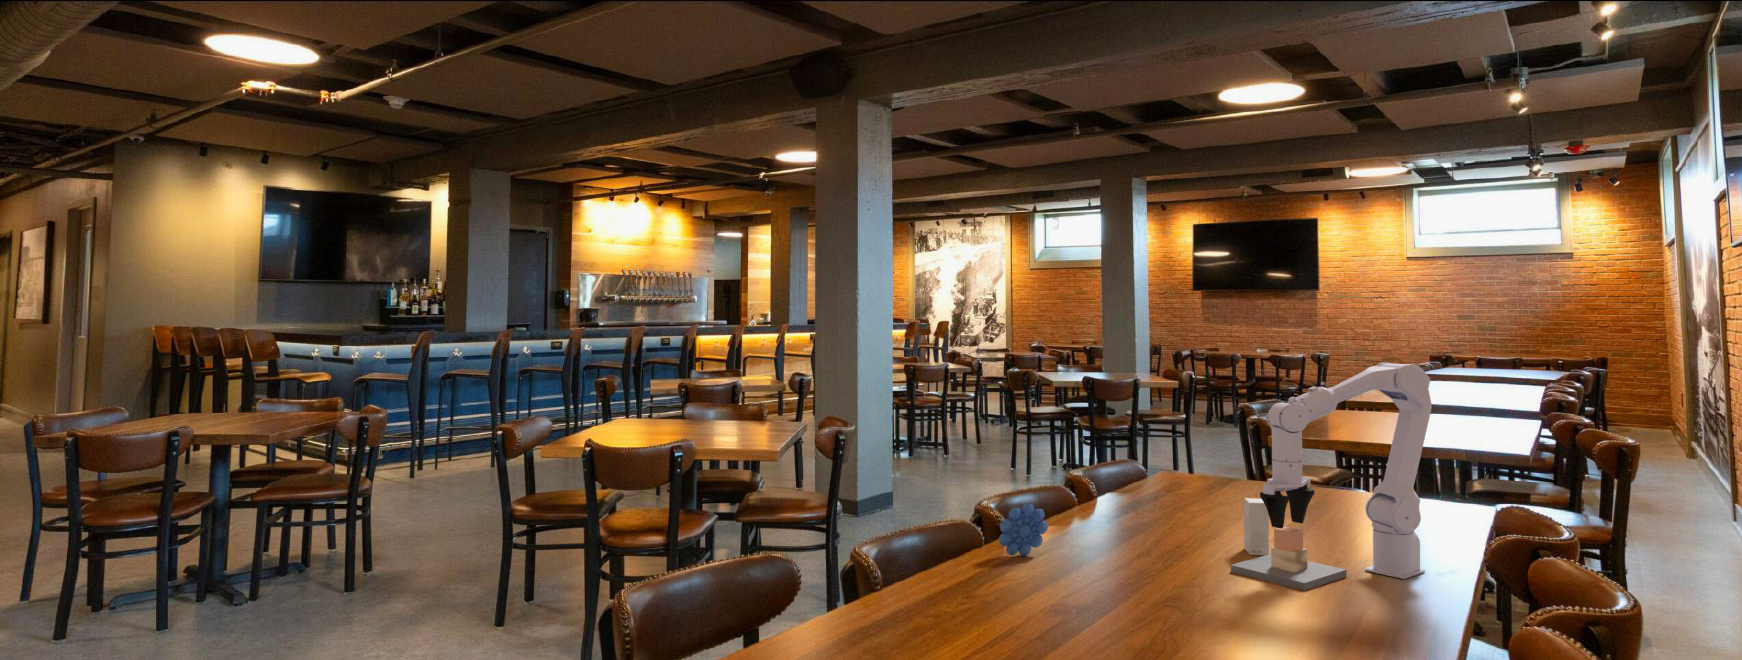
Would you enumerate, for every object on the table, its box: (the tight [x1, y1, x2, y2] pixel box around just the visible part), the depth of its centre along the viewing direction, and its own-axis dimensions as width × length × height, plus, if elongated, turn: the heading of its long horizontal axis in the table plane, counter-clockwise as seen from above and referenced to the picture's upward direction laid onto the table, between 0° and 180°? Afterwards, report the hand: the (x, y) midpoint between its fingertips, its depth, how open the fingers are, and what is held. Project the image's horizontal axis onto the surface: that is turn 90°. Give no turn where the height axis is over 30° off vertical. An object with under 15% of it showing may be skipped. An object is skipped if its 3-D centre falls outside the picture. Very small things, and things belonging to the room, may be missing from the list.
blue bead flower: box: [998, 503, 1049, 557], centre depth 198 cm, size 12×7×12 cm, turn 98°
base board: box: [1230, 553, 1348, 591], centre depth 180 cm, size 16×16×2 cm
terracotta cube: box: [1273, 525, 1304, 552], centre depth 180 cm, size 4×4×4 cm
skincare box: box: [1243, 497, 1270, 556], centre depth 198 cm, size 6×4×12 cm
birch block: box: [1270, 546, 1308, 572], centre depth 180 cm, size 5×5×4 cm
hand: (1287, 524), depth 180 cm, fingers open, 7 cm apart
